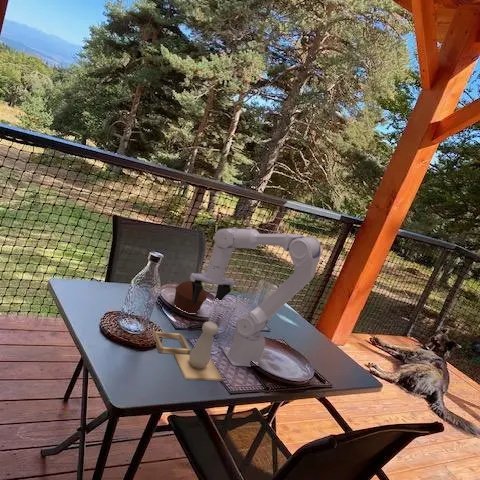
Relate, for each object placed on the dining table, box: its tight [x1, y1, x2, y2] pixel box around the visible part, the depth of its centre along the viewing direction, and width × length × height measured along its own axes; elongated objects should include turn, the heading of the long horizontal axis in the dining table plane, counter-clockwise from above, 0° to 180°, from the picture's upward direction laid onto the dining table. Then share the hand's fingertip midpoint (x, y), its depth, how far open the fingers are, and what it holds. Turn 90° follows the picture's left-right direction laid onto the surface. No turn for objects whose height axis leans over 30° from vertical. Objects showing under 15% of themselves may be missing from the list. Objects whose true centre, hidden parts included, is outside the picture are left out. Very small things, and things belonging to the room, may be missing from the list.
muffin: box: [173, 280, 208, 314], centre depth 161 cm, size 12×11×10 cm
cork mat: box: [173, 354, 224, 382], centre depth 127 cm, size 11×11×1 cm
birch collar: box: [151, 330, 192, 355], centre depth 134 cm, size 9×9×2 cm
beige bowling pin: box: [189, 321, 219, 369], centre depth 126 cm, size 6×6×13 cm
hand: (204, 303), depth 145 cm, fingers open, 7 cm apart
